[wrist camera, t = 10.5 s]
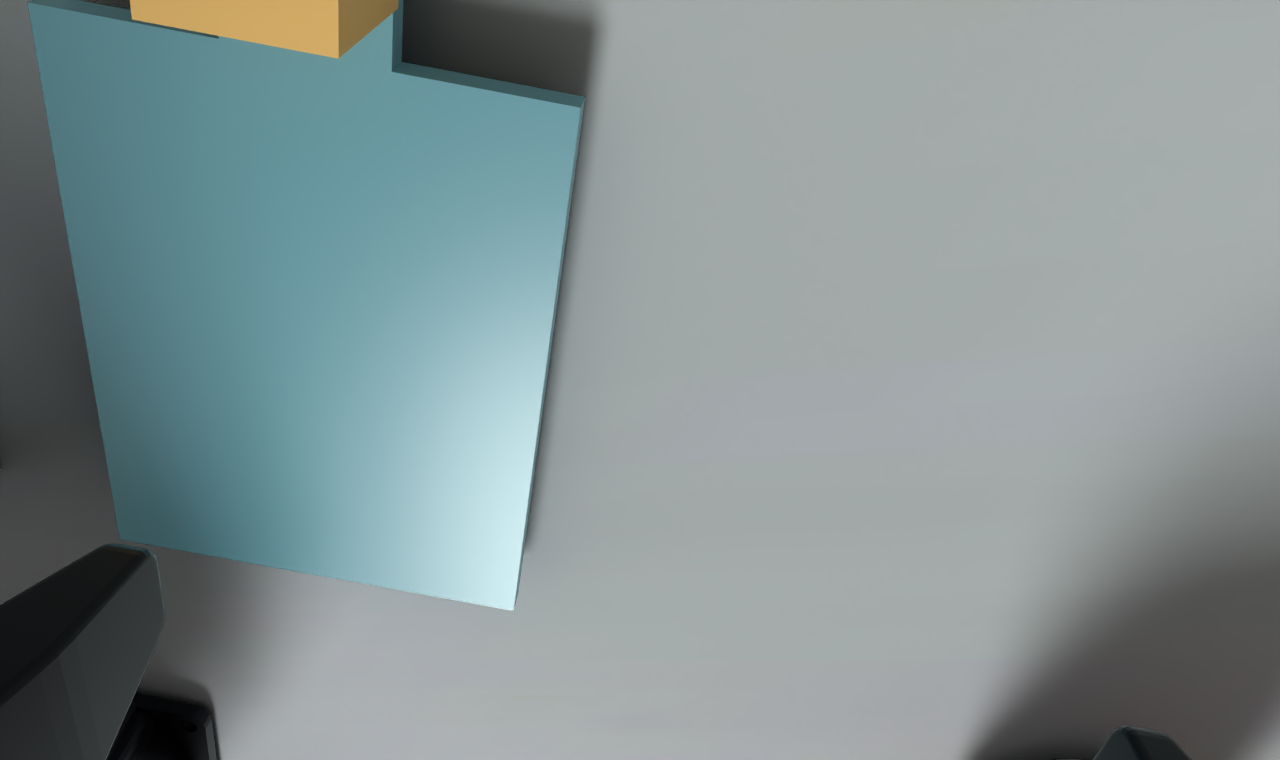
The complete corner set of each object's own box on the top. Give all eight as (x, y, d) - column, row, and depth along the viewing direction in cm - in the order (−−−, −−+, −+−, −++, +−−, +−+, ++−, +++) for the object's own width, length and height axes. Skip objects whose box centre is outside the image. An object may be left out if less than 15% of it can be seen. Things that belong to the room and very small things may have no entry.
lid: (524, 569, 26) (489, 701, 22) (148, 501, 25) (55, 623, 22) (615, -93, 17) (582, -44, 13) (45, -203, 17) (-134, -182, 13)
